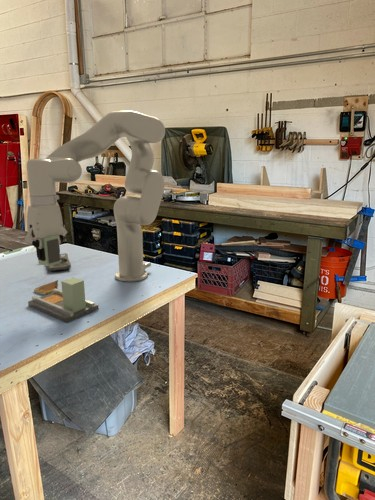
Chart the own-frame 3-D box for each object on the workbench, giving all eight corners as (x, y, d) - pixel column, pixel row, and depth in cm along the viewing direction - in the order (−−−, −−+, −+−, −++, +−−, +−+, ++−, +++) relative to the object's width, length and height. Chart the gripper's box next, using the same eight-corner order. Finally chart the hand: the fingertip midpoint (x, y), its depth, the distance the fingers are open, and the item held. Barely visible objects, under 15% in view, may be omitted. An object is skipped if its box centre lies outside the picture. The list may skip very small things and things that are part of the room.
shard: (58, 283, 142) (57, 279, 142) (72, 287, 138) (71, 283, 138) (33, 292, 133) (32, 288, 133) (47, 297, 129) (46, 292, 129)
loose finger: (51, 260, 123) (48, 233, 120) (61, 263, 119) (59, 235, 117) (38, 263, 119) (35, 235, 117) (49, 266, 116) (46, 238, 113)
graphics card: (39, 255, 164) (67, 252, 169) (40, 263, 166) (68, 260, 170) (41, 267, 150) (72, 263, 154) (42, 276, 151) (73, 272, 155)
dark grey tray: (60, 294, 131) (59, 287, 130) (98, 309, 120) (98, 301, 119) (28, 305, 122) (27, 298, 121) (67, 323, 110) (66, 314, 109)
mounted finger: (74, 303, 120) (72, 276, 118) (85, 307, 117) (83, 280, 115) (62, 307, 117) (59, 280, 114) (73, 312, 114) (71, 284, 111)
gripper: (59, 196, 123) (64, 250, 128) (10, 202, 110) (17, 262, 115) (74, 198, 118) (78, 254, 123) (24, 205, 105) (31, 267, 110)
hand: (49, 257), depth 119 cm, fingers closed on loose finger, 4 cm apart
